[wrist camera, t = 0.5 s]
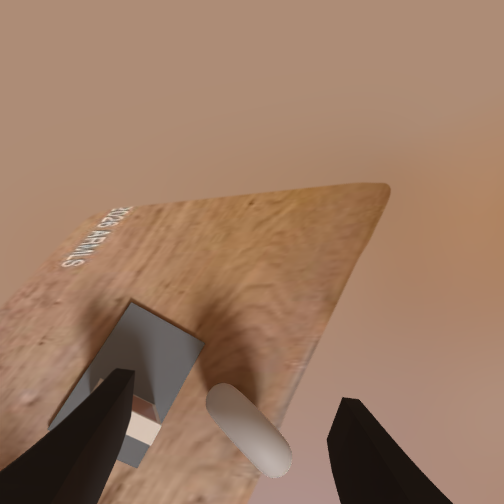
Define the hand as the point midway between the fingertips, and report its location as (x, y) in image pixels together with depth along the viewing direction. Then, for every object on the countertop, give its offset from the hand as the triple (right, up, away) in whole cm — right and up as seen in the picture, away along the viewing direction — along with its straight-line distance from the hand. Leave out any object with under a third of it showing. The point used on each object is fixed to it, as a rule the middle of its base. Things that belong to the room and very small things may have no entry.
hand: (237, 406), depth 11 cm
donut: (-2, -12, +24) cm, 27 cm away
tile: (-12, -9, +20) cm, 25 cm away
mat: (-11, -8, +21) cm, 25 cm away
